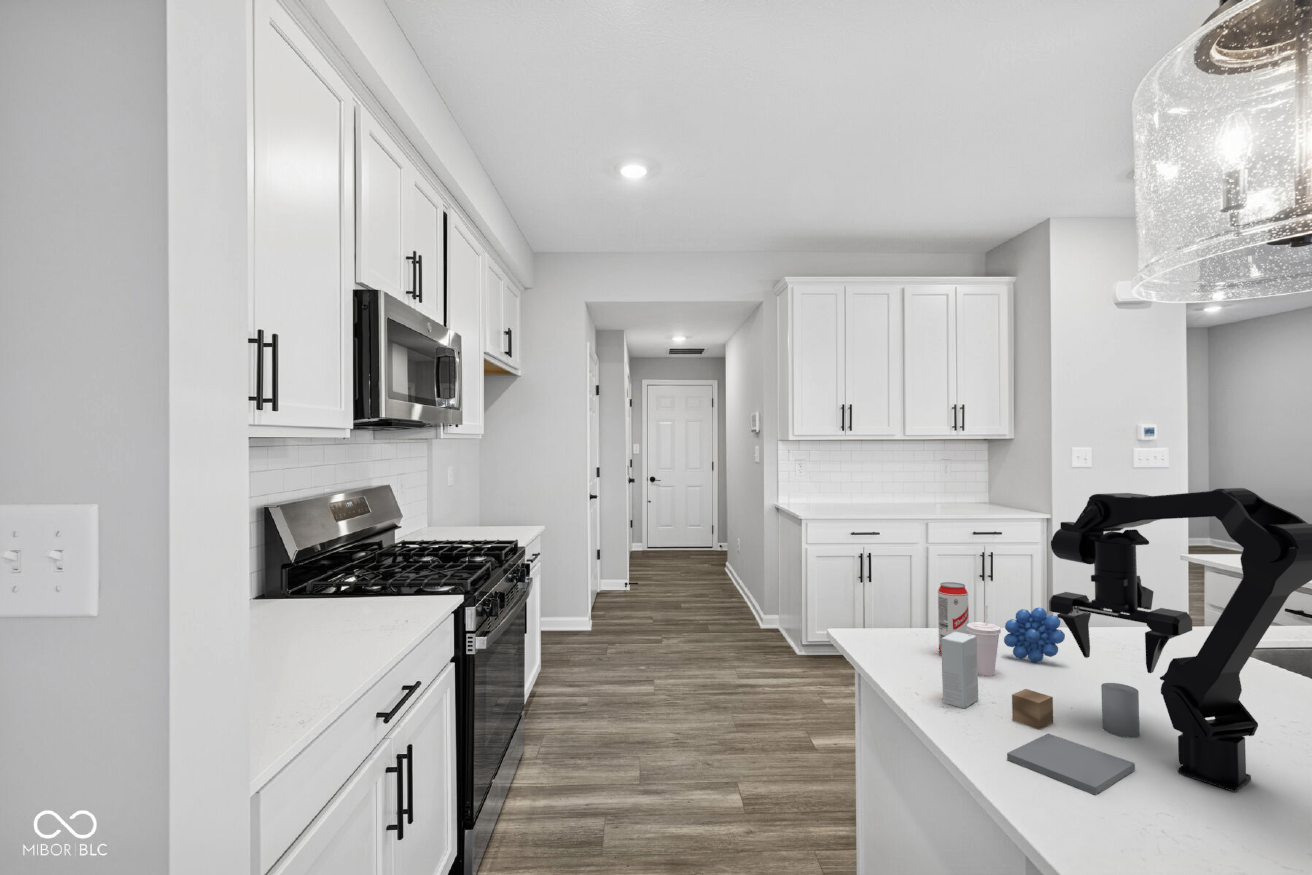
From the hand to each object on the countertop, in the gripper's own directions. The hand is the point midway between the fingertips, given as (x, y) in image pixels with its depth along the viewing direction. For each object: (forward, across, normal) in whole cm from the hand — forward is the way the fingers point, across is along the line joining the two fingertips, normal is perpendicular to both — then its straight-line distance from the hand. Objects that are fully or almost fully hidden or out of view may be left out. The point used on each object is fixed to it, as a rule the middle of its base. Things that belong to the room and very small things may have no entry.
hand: (1117, 664), depth 107 cm
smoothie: (+11, +28, -8) cm, 31 cm away
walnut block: (+11, +10, +7) cm, 17 cm away
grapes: (+11, +26, -24) cm, 38 cm away
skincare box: (+11, +22, +10) cm, 26 cm away
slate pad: (+11, -1, +18) cm, 21 cm away
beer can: (+11, +38, -13) cm, 42 cm away
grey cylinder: (+11, 0, -1) cm, 11 cm away
